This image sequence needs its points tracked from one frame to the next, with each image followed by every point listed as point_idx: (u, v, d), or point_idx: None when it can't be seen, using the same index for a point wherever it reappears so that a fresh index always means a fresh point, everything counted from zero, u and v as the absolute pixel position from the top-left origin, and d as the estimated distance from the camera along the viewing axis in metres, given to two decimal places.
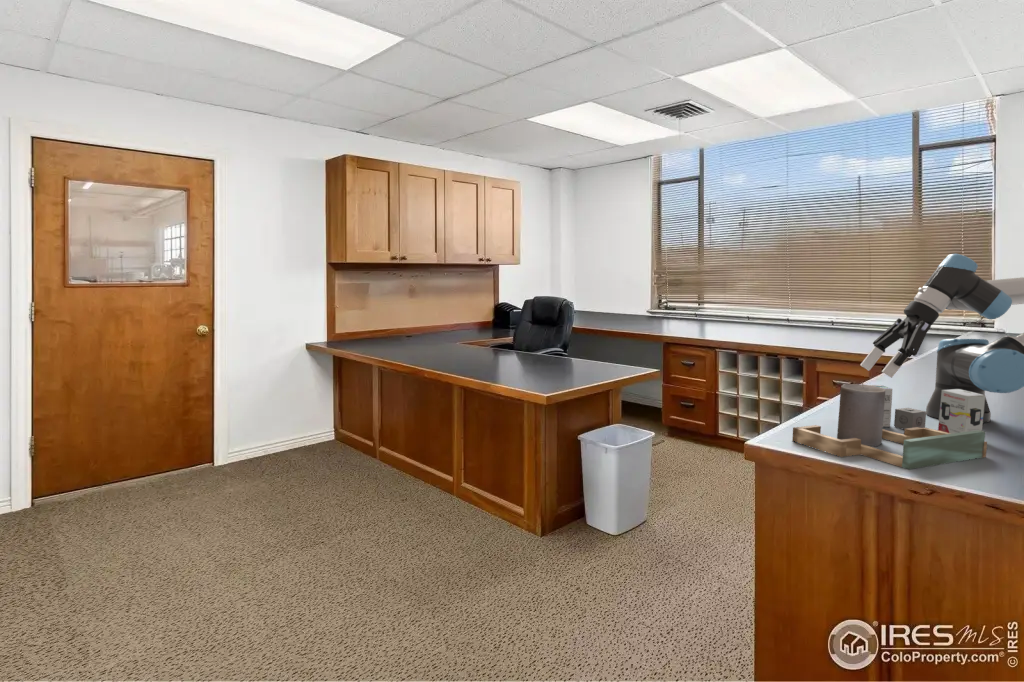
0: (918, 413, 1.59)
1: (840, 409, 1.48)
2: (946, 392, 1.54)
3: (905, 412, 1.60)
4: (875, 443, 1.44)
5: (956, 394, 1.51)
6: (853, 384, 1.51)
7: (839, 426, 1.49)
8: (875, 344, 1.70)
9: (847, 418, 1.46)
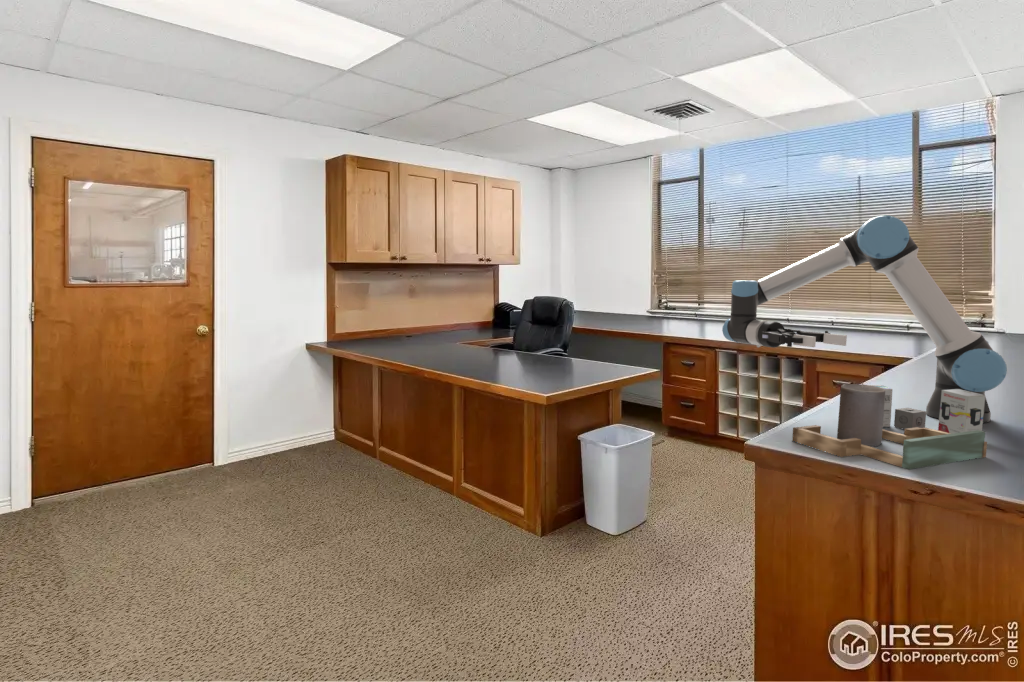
0: (918, 413, 1.59)
1: (840, 409, 1.48)
2: (946, 392, 1.54)
3: (905, 412, 1.60)
4: (875, 443, 1.44)
5: (956, 394, 1.51)
6: (853, 384, 1.51)
7: (839, 426, 1.49)
8: None
9: (847, 418, 1.46)
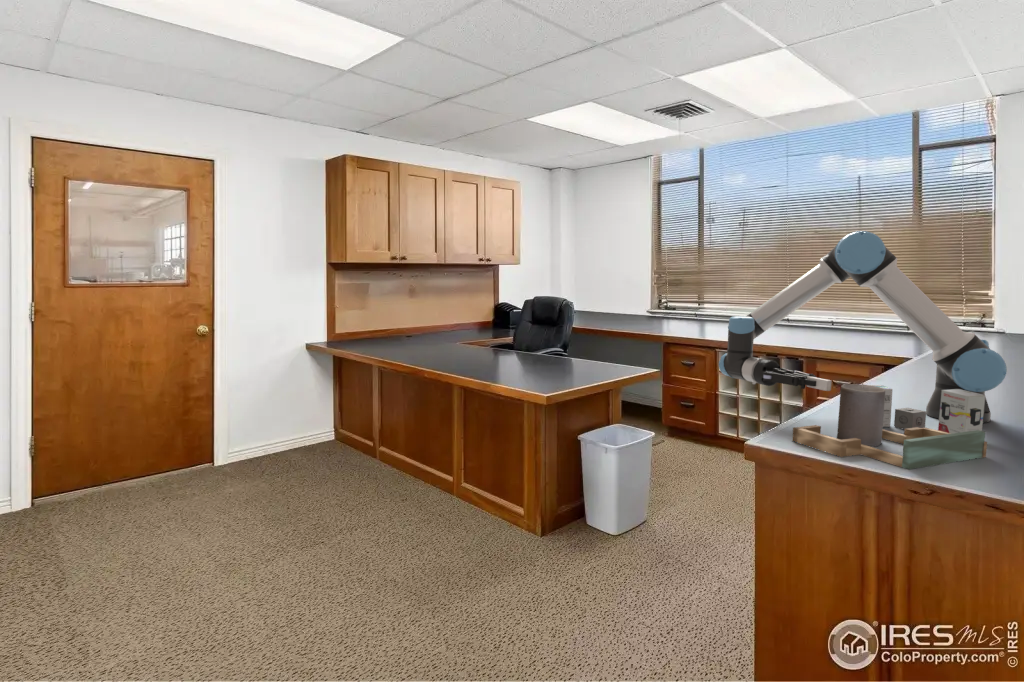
0: (918, 413, 1.59)
1: (840, 409, 1.48)
2: (946, 392, 1.54)
3: (905, 412, 1.60)
4: (875, 443, 1.44)
5: (956, 394, 1.51)
6: (853, 384, 1.51)
7: (839, 426, 1.49)
8: None
9: (847, 418, 1.46)
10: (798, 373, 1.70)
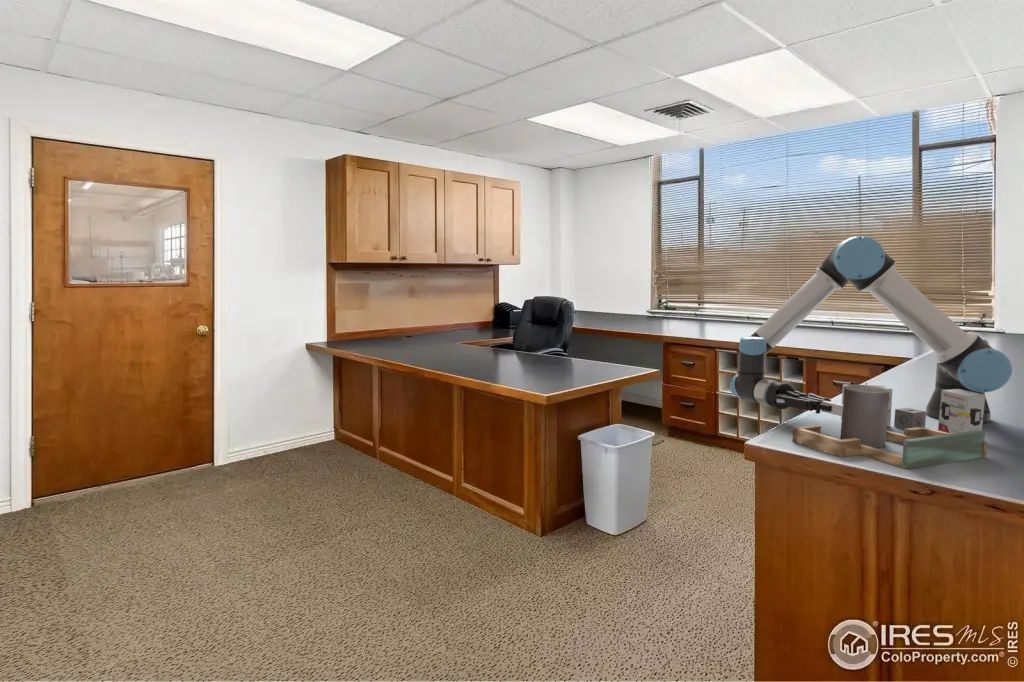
0: (918, 413, 1.59)
1: (843, 410, 1.47)
2: (946, 392, 1.54)
3: (905, 412, 1.60)
4: (879, 444, 1.43)
5: (956, 394, 1.51)
6: (857, 385, 1.50)
7: (842, 427, 1.48)
8: None
9: (850, 419, 1.45)
10: (812, 396, 1.65)
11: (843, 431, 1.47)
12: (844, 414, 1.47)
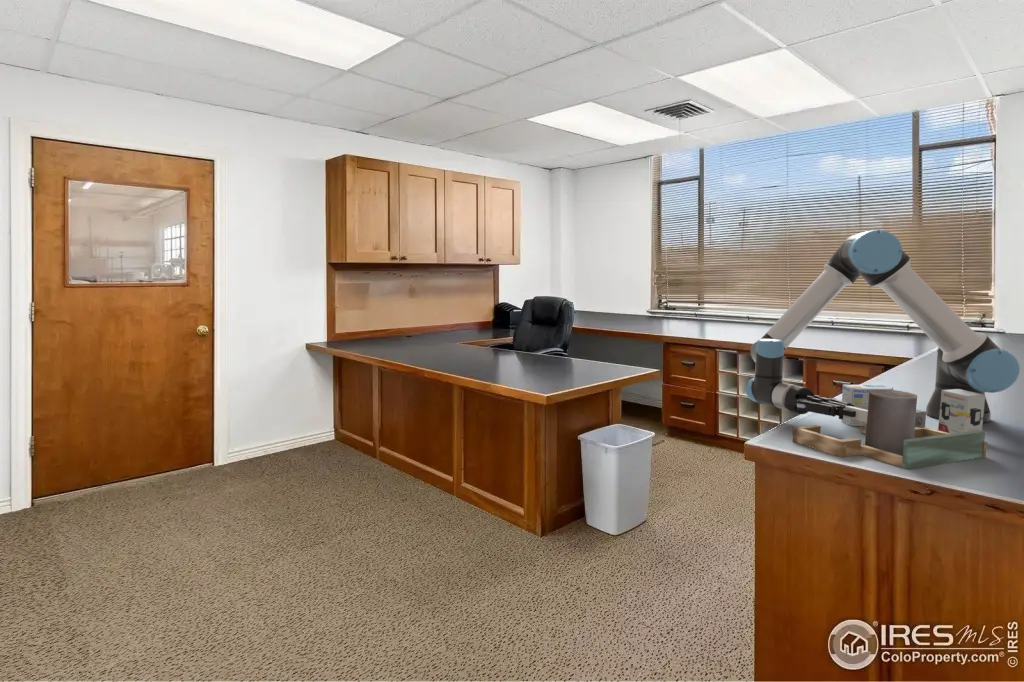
0: (918, 413, 1.59)
1: (868, 416, 1.41)
2: (946, 392, 1.54)
3: None
4: None
5: (956, 394, 1.51)
6: None
7: (867, 433, 1.41)
8: None
9: (875, 425, 1.38)
10: (834, 401, 1.59)
11: (868, 438, 1.41)
12: (869, 420, 1.41)
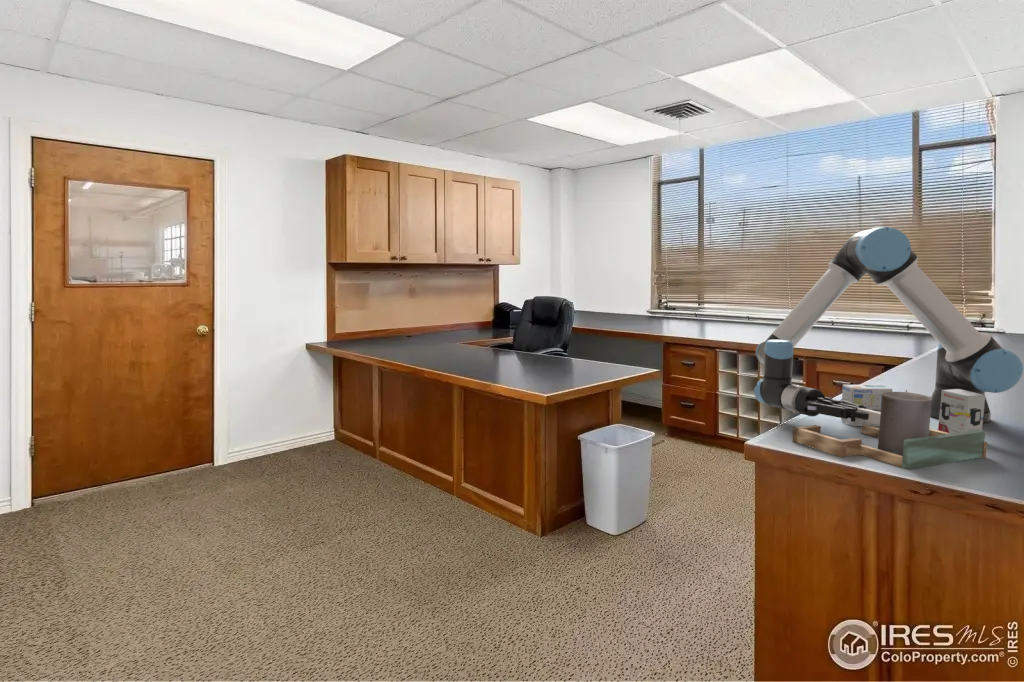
0: None
1: (881, 418, 1.38)
2: (946, 392, 1.54)
3: None
4: None
5: (956, 394, 1.51)
6: (896, 392, 1.40)
7: (880, 436, 1.39)
8: None
9: (888, 428, 1.36)
10: (845, 403, 1.56)
11: (880, 441, 1.38)
12: (882, 423, 1.38)
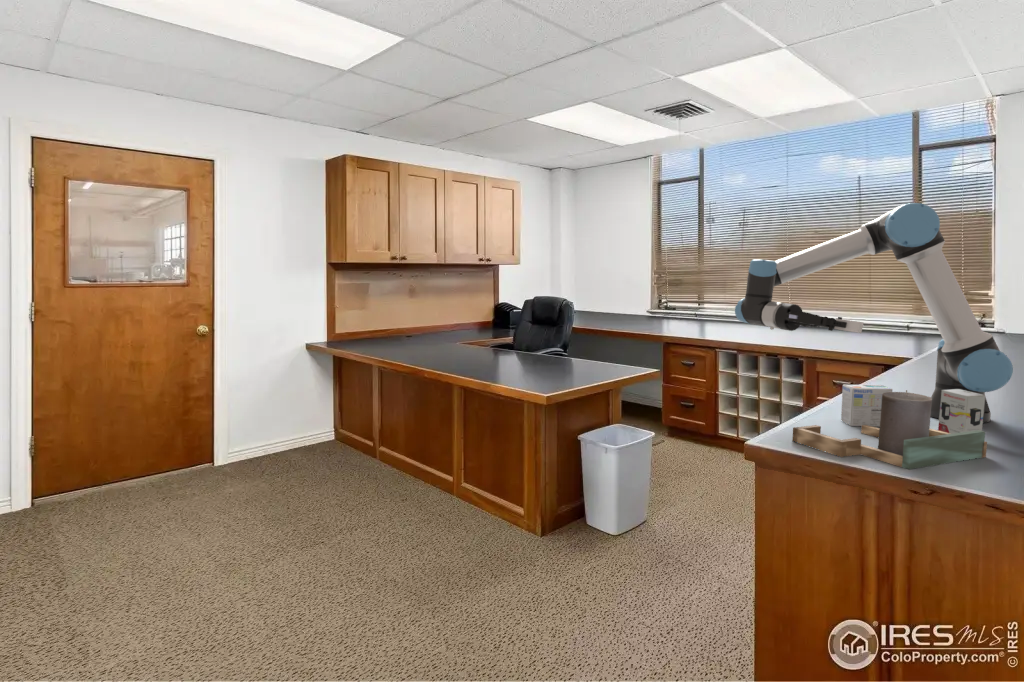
0: None
1: (881, 419, 1.38)
2: (946, 392, 1.54)
3: None
4: None
5: (956, 394, 1.51)
6: (896, 392, 1.40)
7: (880, 437, 1.39)
8: None
9: (889, 428, 1.36)
10: None
11: (881, 441, 1.38)
12: (882, 423, 1.38)
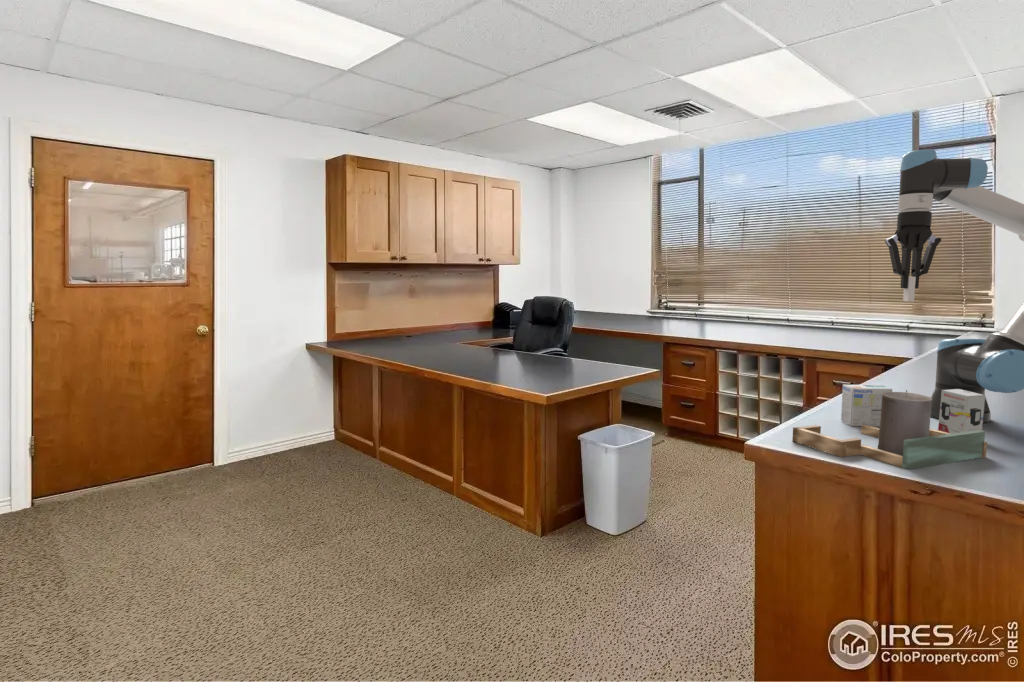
0: None
1: (881, 419, 1.38)
2: (946, 392, 1.54)
3: None
4: None
5: (956, 394, 1.51)
6: (896, 392, 1.40)
7: (880, 437, 1.39)
8: (908, 273, 1.58)
9: (889, 428, 1.36)
10: None
11: (881, 441, 1.38)
12: (882, 423, 1.38)
